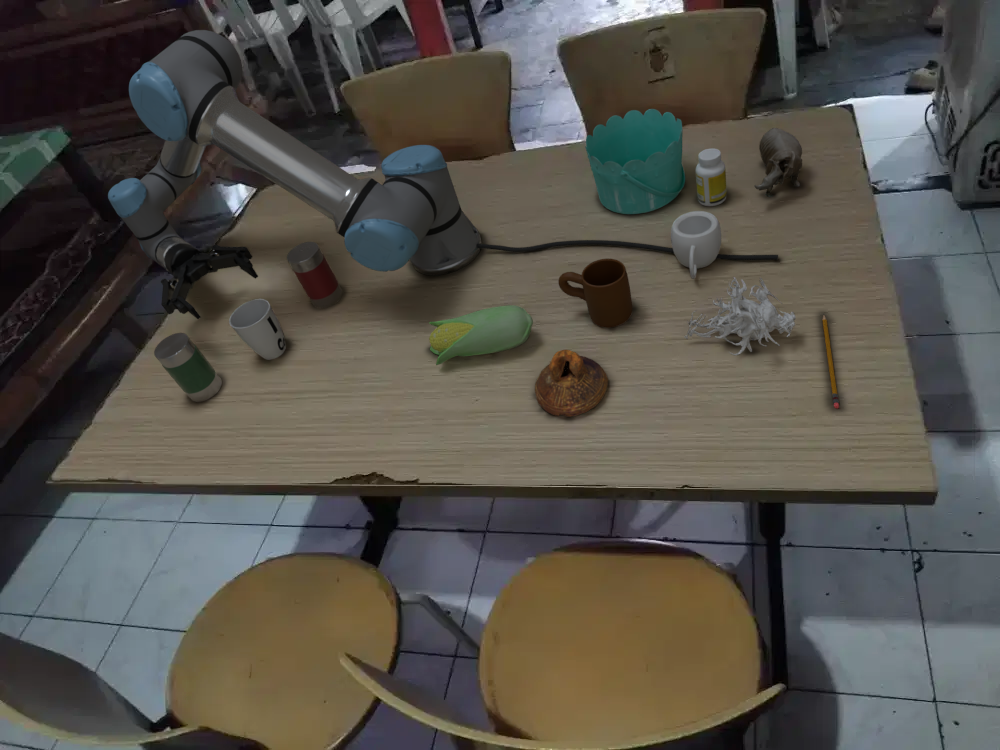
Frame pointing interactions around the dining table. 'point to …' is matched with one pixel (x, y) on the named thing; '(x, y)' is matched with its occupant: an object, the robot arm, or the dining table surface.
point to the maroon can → (315, 274)
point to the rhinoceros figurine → (779, 158)
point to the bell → (570, 384)
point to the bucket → (637, 161)
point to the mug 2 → (696, 239)
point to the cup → (259, 328)
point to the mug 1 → (602, 291)
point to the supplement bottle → (711, 178)
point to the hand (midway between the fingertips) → (225, 292)
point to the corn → (480, 332)
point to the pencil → (830, 364)
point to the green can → (188, 367)
